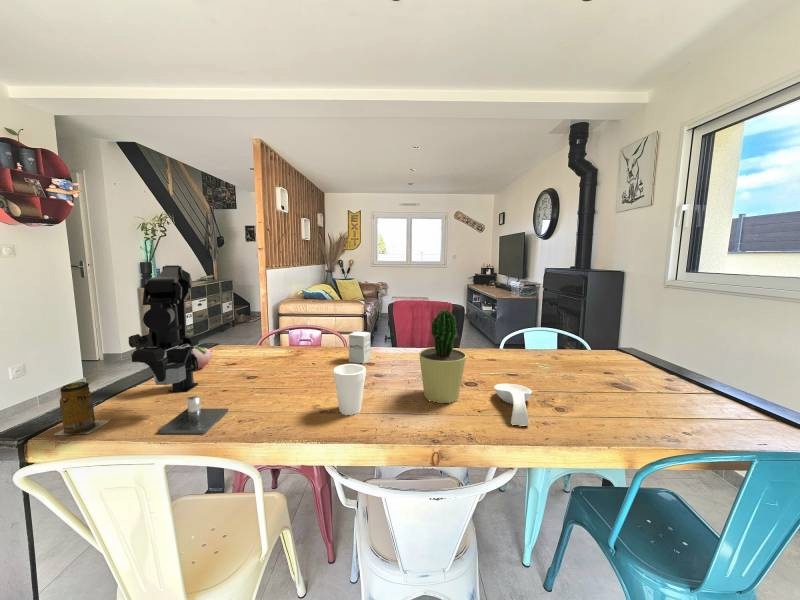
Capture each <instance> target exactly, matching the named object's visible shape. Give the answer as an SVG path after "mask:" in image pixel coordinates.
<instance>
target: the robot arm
mask: <svg viewBox="0 0 800 600" xmlns="http://www.w3.org/2000/svg"><path fill="white" fill-rule="evenodd" d="M161 269H162V270H161V272H160V273H159V275H158V276H155V277H150V278H149V279H147V281H146V282H145V283H144V285H143V294H142V295H143V296H142V306H150V307H149V308H150V309H148V310H146V312H145V313H144V314H143V318H142V322H143V324H144V325H145V326H146V328H148V334H145V335H140V334H139V333H137V334H134V335H133V334H132V335H130V336H128V346H129V347H130V348H132V349H134V348H135V350H134V351H133V352H132V353H131V357H130V358H131V362H132V363H143V364H145V365H147V366H148V367H149V369H151V371H152V373H153V376H154V375H155V376H156V378H157V380H158V381H159V382H163V380H164V377H165V372H166V367H167V364H170V363H183V364H184V365H185V370H186V379H184V380H182V381H181V382H178V383H173V384H171V386H172V387H170V389H168V392H189V391H190V390H192V389H193V388H195V387H196V386H198V385H199V382H195V381H194V372H197V370H199V365H198V359H197V357H196V356H195V354H193V349H194V346H198V345H199V338H198V337H197V336H196V335H194V334H193V335H190V334H189V335H188V333H187V332H188V331H187V330H188V329H187V307H186V301H187V299H188V298H189V296H190V295H191V289H193V281H192V277H191V274H190V273H189V272H187V271H186V270H184V269H183V267H182V265H164V266H162V268H161ZM165 354H166V356H165ZM192 365H193V366H192Z"/></svg>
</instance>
